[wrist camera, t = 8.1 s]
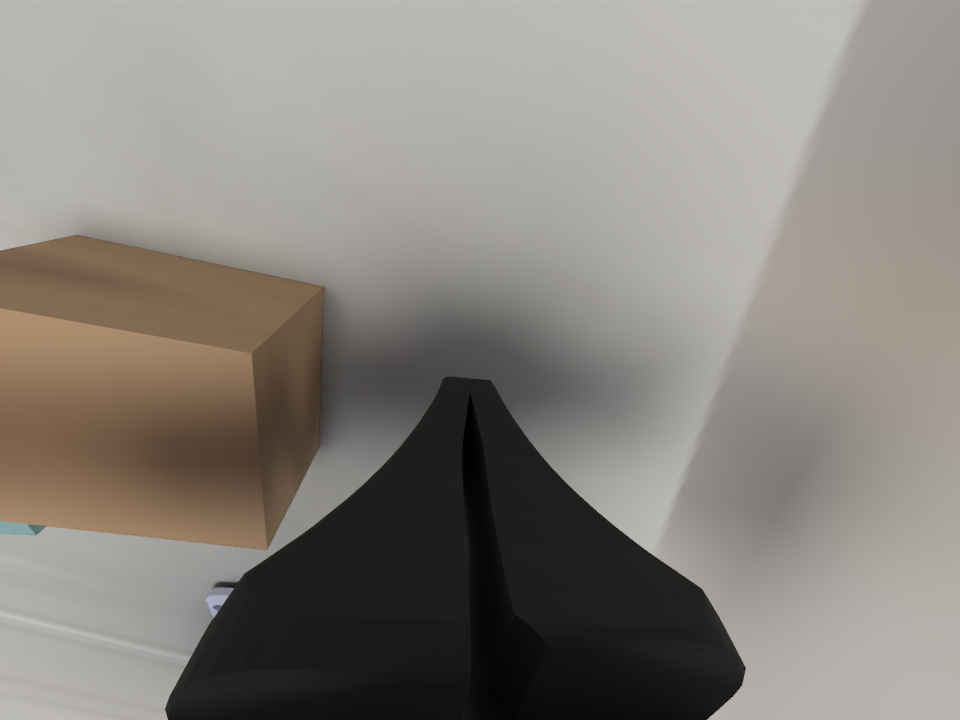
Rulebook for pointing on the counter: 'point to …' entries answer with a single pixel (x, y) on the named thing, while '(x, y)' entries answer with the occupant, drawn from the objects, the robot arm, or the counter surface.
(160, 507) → the walnut block
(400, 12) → the counter surface
